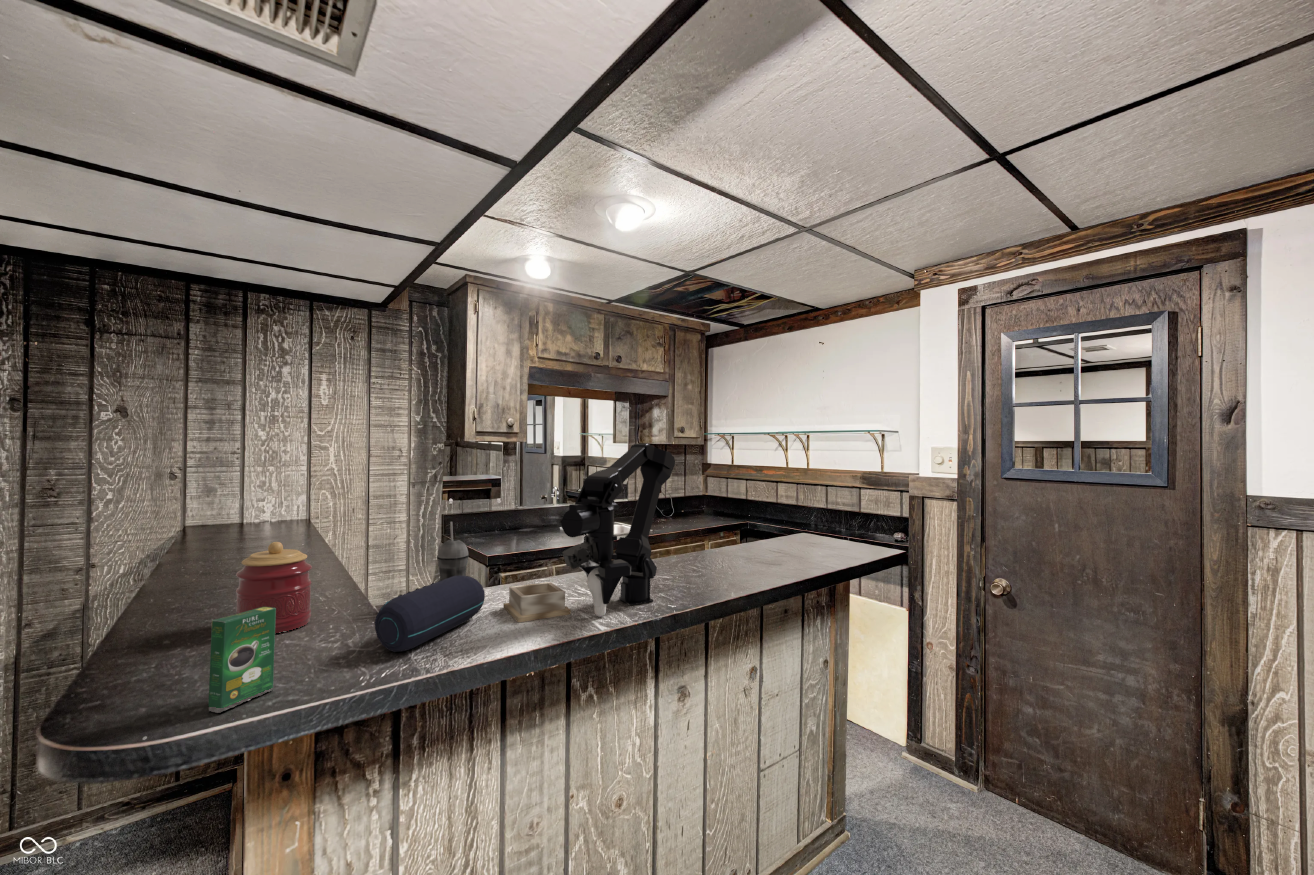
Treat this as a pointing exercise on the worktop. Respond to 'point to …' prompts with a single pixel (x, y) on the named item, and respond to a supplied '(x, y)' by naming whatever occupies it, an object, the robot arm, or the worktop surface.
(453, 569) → the beverage cup
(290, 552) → the canister
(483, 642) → the worktop surface
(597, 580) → the lightbulb
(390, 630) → the portable speaker
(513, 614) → the box
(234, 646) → the coffee box
